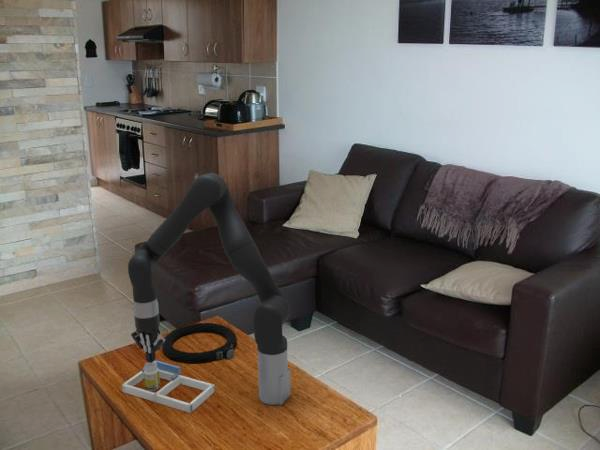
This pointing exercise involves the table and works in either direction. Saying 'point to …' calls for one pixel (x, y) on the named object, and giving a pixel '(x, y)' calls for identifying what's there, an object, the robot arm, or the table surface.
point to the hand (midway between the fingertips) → (150, 361)
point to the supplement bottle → (151, 376)
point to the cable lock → (219, 353)
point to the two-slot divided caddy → (169, 388)
